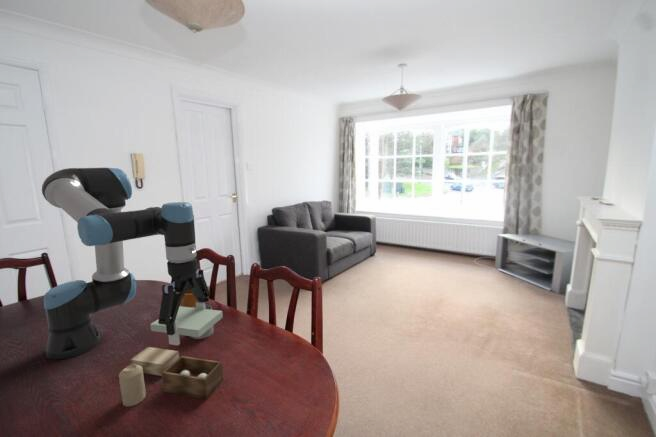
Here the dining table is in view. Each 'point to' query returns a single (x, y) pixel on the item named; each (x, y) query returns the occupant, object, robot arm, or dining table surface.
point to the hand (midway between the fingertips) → (189, 332)
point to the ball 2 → (202, 375)
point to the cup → (207, 330)
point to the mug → (188, 300)
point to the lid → (191, 321)
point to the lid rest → (155, 360)
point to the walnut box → (193, 377)
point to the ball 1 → (186, 373)
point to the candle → (132, 385)
